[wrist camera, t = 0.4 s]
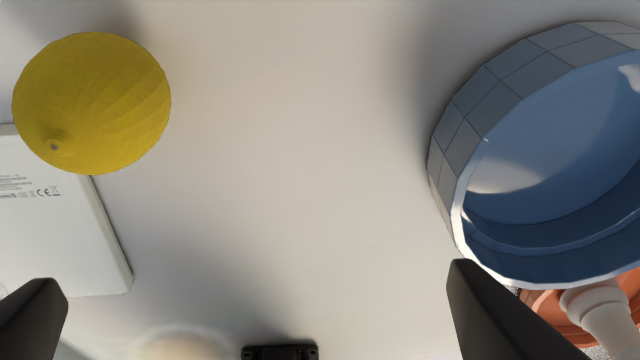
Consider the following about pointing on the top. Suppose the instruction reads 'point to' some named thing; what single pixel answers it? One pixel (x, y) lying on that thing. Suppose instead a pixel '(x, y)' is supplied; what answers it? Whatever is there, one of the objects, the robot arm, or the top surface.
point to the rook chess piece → (604, 317)
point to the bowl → (546, 159)
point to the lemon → (91, 103)
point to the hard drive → (54, 226)
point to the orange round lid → (546, 305)
